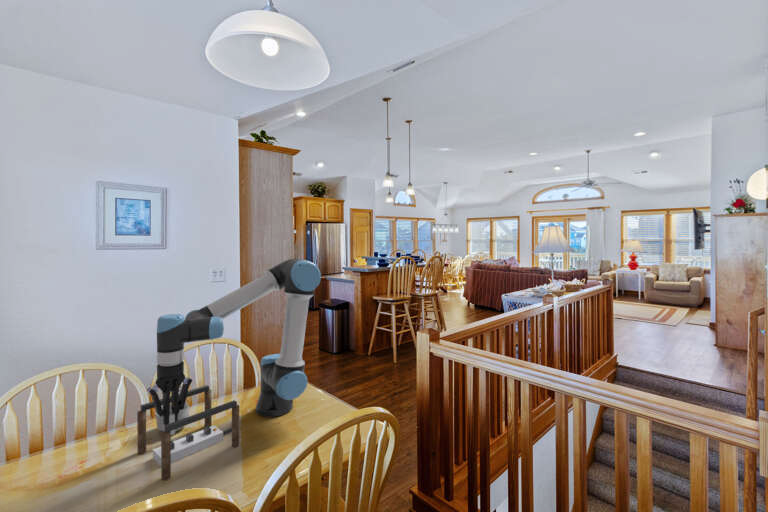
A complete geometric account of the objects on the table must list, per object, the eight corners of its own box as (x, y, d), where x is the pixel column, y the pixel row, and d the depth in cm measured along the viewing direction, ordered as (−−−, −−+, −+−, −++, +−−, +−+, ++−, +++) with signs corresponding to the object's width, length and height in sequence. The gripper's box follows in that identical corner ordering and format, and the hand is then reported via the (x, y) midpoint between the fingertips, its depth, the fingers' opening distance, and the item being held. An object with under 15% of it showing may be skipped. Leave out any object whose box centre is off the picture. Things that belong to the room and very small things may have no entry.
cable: (234, 404, 123) (234, 400, 123) (236, 406, 122) (236, 401, 122) (164, 430, 106) (164, 425, 106) (167, 432, 105) (167, 427, 105)
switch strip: (229, 426, 136) (229, 414, 136) (238, 433, 131) (239, 420, 131) (152, 458, 115) (152, 444, 115) (161, 467, 111) (161, 452, 111)
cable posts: (209, 424, 137) (209, 388, 137) (240, 445, 124) (240, 406, 123) (136, 452, 118) (136, 411, 118) (163, 481, 104) (163, 435, 104)
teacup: (173, 438, 127) (173, 416, 127) (148, 434, 129) (148, 413, 129) (201, 419, 141) (201, 399, 140) (177, 416, 143) (177, 397, 143)
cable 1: (207, 389, 136) (207, 385, 136) (209, 390, 135) (209, 386, 135) (140, 409, 118) (140, 405, 118) (142, 411, 117) (142, 406, 117)
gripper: (186, 355, 123) (186, 421, 123) (143, 364, 112) (143, 437, 113) (196, 360, 118) (196, 429, 119) (152, 370, 108) (152, 446, 109)
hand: (170, 433), depth 116 cm, fingers closed
